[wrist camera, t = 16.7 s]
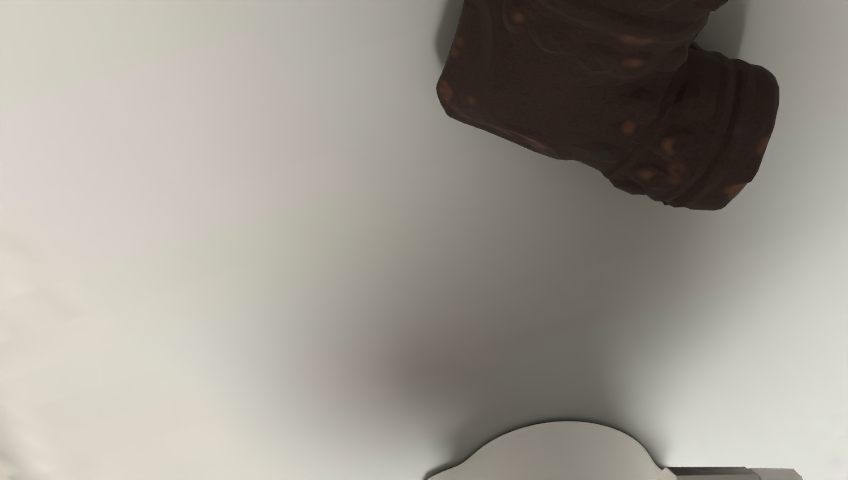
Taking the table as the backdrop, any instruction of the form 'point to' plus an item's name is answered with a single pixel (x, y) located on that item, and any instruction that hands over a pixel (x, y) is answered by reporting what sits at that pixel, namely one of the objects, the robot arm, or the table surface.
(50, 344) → the table surface
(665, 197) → the pipe
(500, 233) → the table surface
